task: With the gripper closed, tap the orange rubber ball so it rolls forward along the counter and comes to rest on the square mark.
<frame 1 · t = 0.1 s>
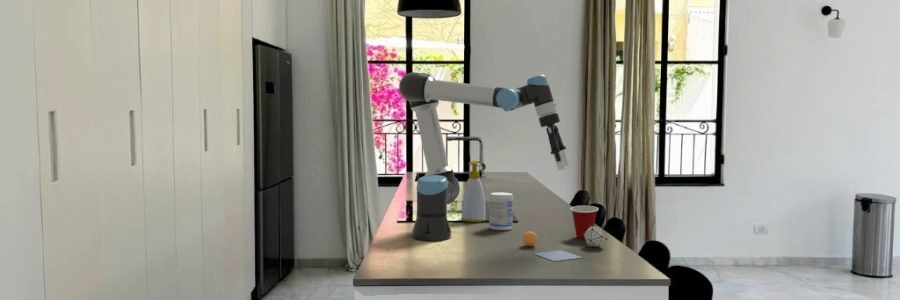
hand: (564, 168, 259), 28 cm above the counter, tool tilted 20°, fingers open, 13 cm apart
game die: (594, 247, 249), on the counter
ball: (529, 238, 249), on the counter
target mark: (557, 256, 234), on the counter
soap bottle: (473, 220, 300), on the counter
supplement tub: (500, 229, 282), on the counter
plastic cup: (583, 238, 266), on the counter
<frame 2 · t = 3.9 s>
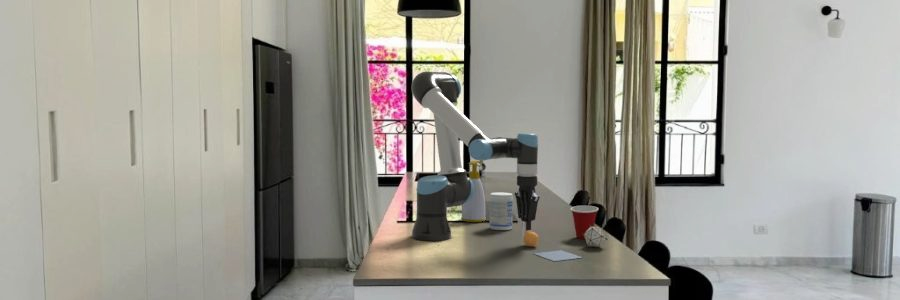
hand: (526, 238, 252), 2 cm above the counter, tool pointing down, fingers closed
ball: (531, 239, 248), on the counter, touching gripper
everything else where it was.
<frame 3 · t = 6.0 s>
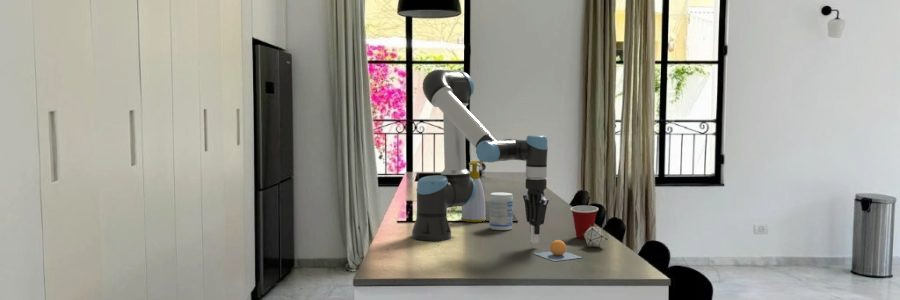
hand: (534, 242, 246), 2 cm above the counter, tool pointing down, fingers closed
ball: (558, 247, 234), on the counter
everything else where it was.
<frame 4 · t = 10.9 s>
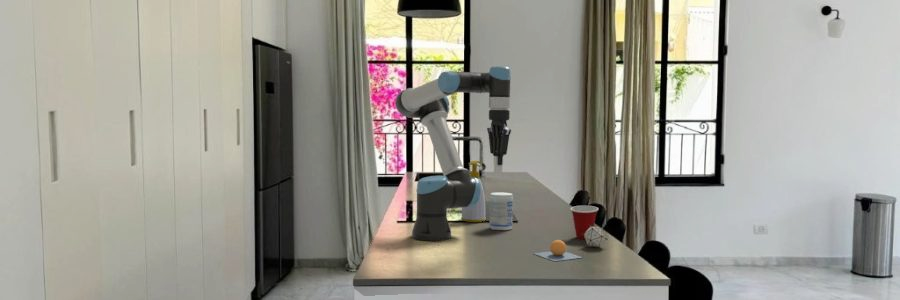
hand: (497, 173, 249), 26 cm above the counter, tool pointing down, fingers closed
nothing on the counter moved.
at the end: ball 0.4 cm from the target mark (horizontally); ball at rest at the end (0.0 cm/s); ball moved 16.7 cm from its start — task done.
